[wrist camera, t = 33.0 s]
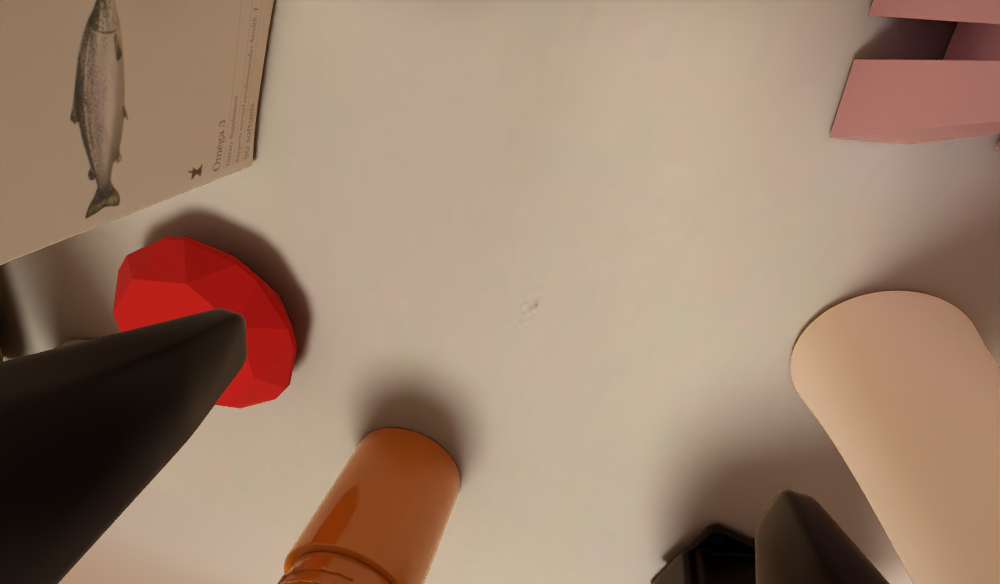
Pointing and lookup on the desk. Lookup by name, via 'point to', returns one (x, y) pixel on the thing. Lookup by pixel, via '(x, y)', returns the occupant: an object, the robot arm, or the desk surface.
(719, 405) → the desk surface
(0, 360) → the stone weight
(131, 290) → the gemstone
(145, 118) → the white packaging box
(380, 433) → the jam jar
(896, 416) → the cosmetic bottle
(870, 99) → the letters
